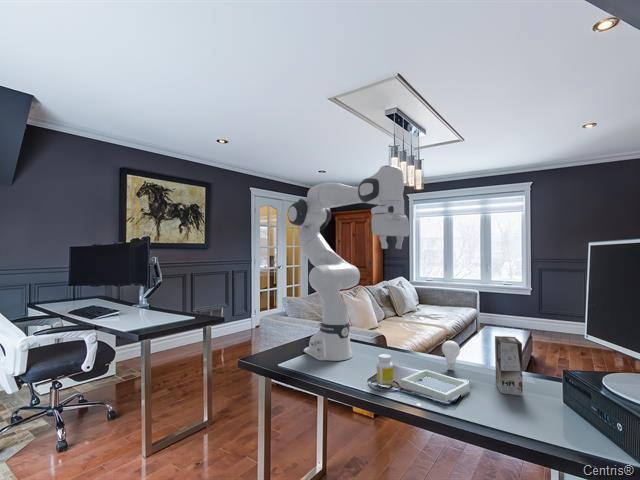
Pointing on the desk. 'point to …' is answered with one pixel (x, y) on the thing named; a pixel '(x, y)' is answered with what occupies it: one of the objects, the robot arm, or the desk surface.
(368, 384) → the socket ring
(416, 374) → the tray
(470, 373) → the desk surface
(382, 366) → the supplement bottle
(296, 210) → the robot arm
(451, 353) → the lightbulb
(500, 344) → the coffee box
